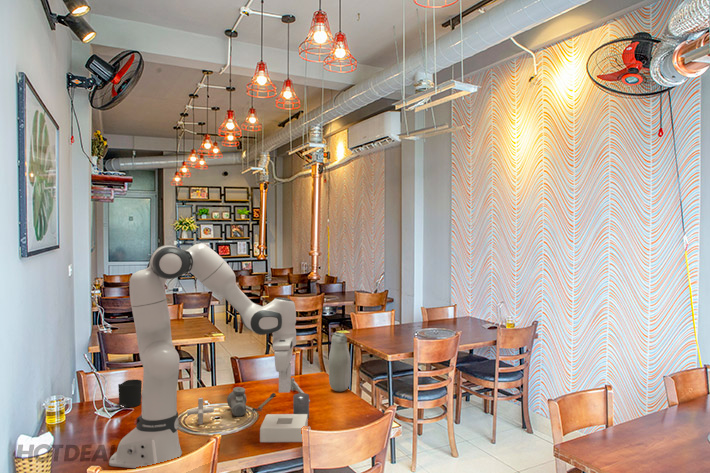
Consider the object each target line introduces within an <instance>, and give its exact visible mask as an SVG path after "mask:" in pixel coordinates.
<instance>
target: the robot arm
mask: <svg viewBox="0 0 710 473" xmlns="http://www.w3.org/2000/svg"><path fill="white" fill-rule="evenodd" d="M187 273H189V274H192V275H193V276H194V277H195V278H196V279H197V280H198V281H199V282H200V283H201V285H203V286H204V287H205V288H206V289H208V290H209V291H211V292H212V293H213V294H216V295H217V296H220V297H223V299H225V300H226V301H227V302H228V303H229V304H230V305H231V306H232V307H233V308H234V309H235V311H236V312H237V313H238V314H239V316H240V319H241V321H242V324H243V325H244V327H245V328H246V329H248V330H250V331H251V332H253V333H255V334H256V335H258V336H259V335H260V336H261V335H262V336H264V335H269V334H272V351H273V353H274V368H275V371H276V372H278V373H279V372H280V373H281V380H285V379H286V370H287V368H288V366H289V363H291V361H292V359H293V349H294V347H295V346H296V345H297V330H296V323H297V311H296V310H297V309H296V304H295V302H294V300H292V299H290V298H286V297H274V299H273V300H272V301H270V302H269V303H267V304H265V305H260V304H258V303H256V302H253V301H252V300H251V299H250V298H249V297H248V295H246V294H245V293H244V292H243V291H242V290H241V289H240V288H239V286H238V284H237V281H236V279H237V278H236V274H235V272H234V270H233V269H232V267H231V266H230V264H228V263H227V261H226V260H225V259H224V258H223V257H222V256H221V255H220V254H218V253H217V252H216V251H215V250H213V249H212V248H211V247H209V246H208V245H207V244H204V243H202V242H201V243H200V242H199V243H196V244H194V245H191V246H190V247H188V249H182V248H179V247H177V246H176V245H175V246H174V245H170V244H167V245H166V244H165V245H161V246H158V247H157V248H156V249H155V250H154V251H153V253H152V254H151V256H150V259H149V261H148V264H147V267H146V268H145V269H140V270H138V271H137V270H136V272H134V273H132V274H131V276H130V278H129V299H130V306H131V311H132V317H133V321H134V326H135V327H134V328H135V334H136V340H137V341H136V342H137V347H138V348H137V349H138V353H139V354H138V356H139V360H140V363H141V364H142V368H143V372H142V373H143V375H142V377H143V379H142V389H141V413H140V414H139V416H138V417H137V418H136V419H135V420H134V421H133V422H134V424H133V425H134V426H136V427H134V428H133V429H132V430H131V431H129V432H128V433H127V434H126V435H125V436H123V437H122V439H121V440H120V441H119V443H118V444H117V450H116V451H115V452H114V453H113V455H111V456H110V458H109V461H108V466H110V467H119V468H129V469H130V468H131V469H137V468H136V467H139V466H141V467H142V466H147V465H152V464H156V463H160V462H164V461H167V460H171V459H174V458H177V457H179V458H180V457H181V456H182V453H183V451H182V449H181V448H182V447H181V446H180V440H179V439H180V438H179V433H178V432H179V431H178V429H179V421H180V420H179V412H178V409H177V408H178V404H177V401H178V400H177V398H178V397H177V395H178V393H177V391H178V383H179V382H178V381H179V375H180V374H179V373H180V361H181V360H180V355H179V352H178V351H177V349H176V348H175V347H174V344H173V338H172V328H171V316H170V311H169V306H168V298H167V296H166V295H167V294H166V289H165V287H166V286H165V285H166V281H167V280H173V279H177V278H178V277H179V278H180V277H181V276H183V275H185V274H187ZM177 459H178V458H177Z"/></svg>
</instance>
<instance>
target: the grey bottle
mask: <svg viewBox="0 0 710 473" xmlns="http://www.w3.org/2000/svg"><path fill="white" fill-rule="evenodd" d="M330 345H331V346H330V349H329V350H330V351H329V355H328V381H329V385H330V387H331V389H332V390H333V391H335V392H345V391H346V390H348V389H349V386H350V384H351V354H350V351H349V346H348V337H347V335H346V334H345V333H343V332H334V333H332V335H331V344H330Z"/></svg>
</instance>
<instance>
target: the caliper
mask: <svg viewBox="0 0 710 473" xmlns="http://www.w3.org/2000/svg"><path fill="white" fill-rule="evenodd" d="M290 391H292V392H294V391H296V392H298V393H305V392H304V391H303V390H302V388H300V387H299V384H298V383H297V382H296V381H295V377H291V390H290ZM309 403H311V400H310V399H309Z"/></svg>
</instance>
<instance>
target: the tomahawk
mask: <svg viewBox="0 0 710 473" xmlns="http://www.w3.org/2000/svg"><path fill="white" fill-rule="evenodd" d="M275 396H276V393H275V392H273V393H272V394H270V396H269V397H267V399H265V401H263V402H262V403H261V404H260V405H259V406H258V407H257V408H255V407H254V408H252V411H253V412H254V410H255V412H256V411H257V412H262V411H263V410H264V409H263V408H264V406H265V405H267V404H268V403H269V402H270V401H271V400H272V399H273V398H274V397H275ZM264 411H265V410H264Z"/></svg>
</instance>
